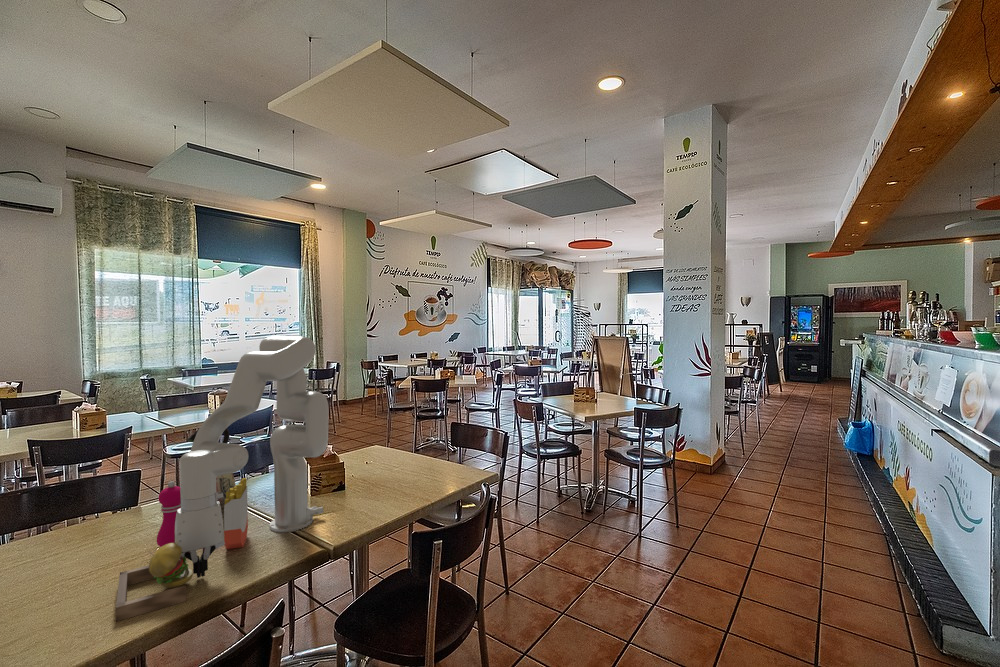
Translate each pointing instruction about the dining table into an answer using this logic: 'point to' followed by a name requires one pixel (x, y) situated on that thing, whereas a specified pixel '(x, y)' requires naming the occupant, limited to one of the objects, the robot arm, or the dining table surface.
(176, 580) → the hamburger
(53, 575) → the dining table surface
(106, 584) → the dining table surface
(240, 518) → the french fries container
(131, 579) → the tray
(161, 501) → the pepper mill
